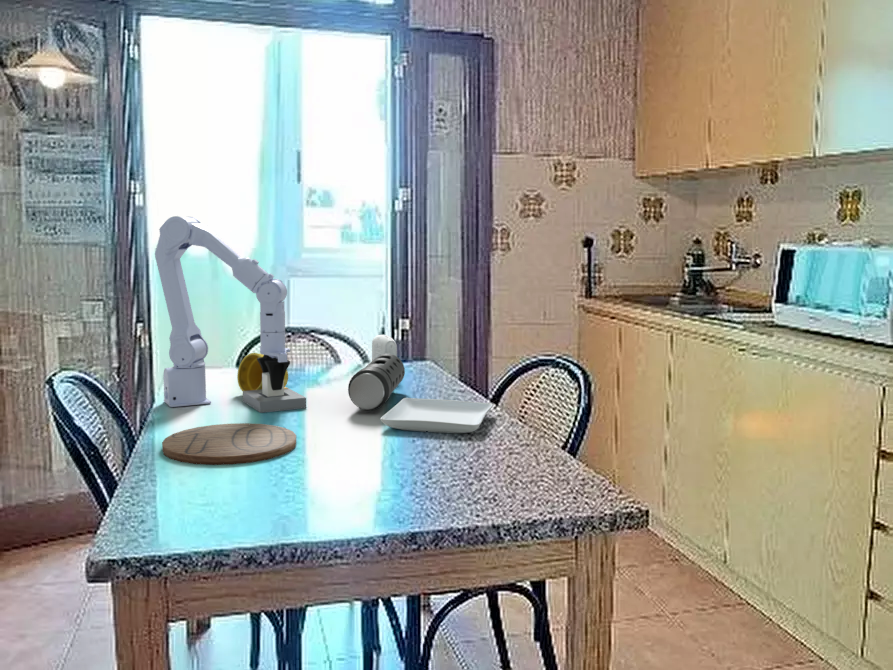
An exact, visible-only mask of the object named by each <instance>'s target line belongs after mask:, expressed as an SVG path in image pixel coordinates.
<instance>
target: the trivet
mask: <svg viewBox="0 0 893 670" xmlns="http://www.w3.org/2000/svg"><path fill="white" fill-rule="evenodd" d="M161 445H162V446H161V449H162V453H163V456H165V457H166V458H168V459H169V460H172V461H175V462H179V463H184V464H185V463H186V464H190V465H201V466H202V465H203V466H204V465H205V466H230V465H232V466H233V465H241V464H242V465H243V464H251V463H257V462H263V461H269V460H271V459H275V458H278V457H282V456H284V455H287V454H289V453H290V452H292V451H293V450H294V449H295V448H296V446H297V434H296V433H295V432H294V431H293V430H291V429H288V428H286V427H284V426H283V427H282V426H278V425H272V424H265V423H248V422H247V423H246V422H245V423H241V422H240V423H239V422H237V423H235V422H234V423H221V424H211V425H204V426H197V427H191V428H188V429H184V430H181V431H177V432H174V433H172V434H171V435H169V436H167V437H165V438H164V440H163V441H162V442H161Z"/></svg>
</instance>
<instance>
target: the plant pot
mask: <svg viewBox="0 0 893 670" xmlns="http://www.w3.org/2000/svg"><path fill="white" fill-rule="evenodd" d="M263 356H264V355H263V354H260V353H257V352H251V353H249V354H247V355H245V356H244V357H243V358H242V359H241V361H240V363H239V365H238V368H237V369H238V370H237V375H236V376H237V385H238V387H239V389H240V390H241V392H243V391H249V390H261V389H262V373H263V372H262V369H261V366H260V364H259V362H258V360H257V358H259V357H263ZM288 381H289V371H288V369H287V370H286V373H285V376H284V387H286V386H287V385H288Z"/></svg>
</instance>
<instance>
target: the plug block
mask: <svg viewBox="0 0 893 670" xmlns="http://www.w3.org/2000/svg"><path fill="white" fill-rule="evenodd" d="M262 394H264V395H266V396H267V397H270V396H280V395H284V381H283V386H282V389H281V390H272V387H271V381H270V375H269V372H266V373H262Z"/></svg>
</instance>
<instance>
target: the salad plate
mask: <svg viewBox="0 0 893 670" xmlns="http://www.w3.org/2000/svg"><path fill="white" fill-rule="evenodd" d="M493 407H494V405H493V403H490V402H489V403H487V402H480V401H479V402H477V401H466V400H453V399H439V398H438V399H436V398H413V397H412V398H411V397H404V398H402V399H401V400H400V401H399V402H398V403H397V404H396V405H394V406H393V407H392V408H390V410H388V411H387V412H386V413H385V414H383V415H382V416H381V417H380V422H382V424H384V425H385V426H387V427H389V428H391V429H397V430H401V431H412V432H413V431H414V432H426V431H428V433H429V432H430V433H444V434H467V433H472V432H474V431H477V430H478V429H479V428H480V426H481V424H483V423H482V422H483V421H484V419H485V416H486V415H487V414H488V413H489V412H490V411H491V409H492V408H493Z"/></svg>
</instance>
